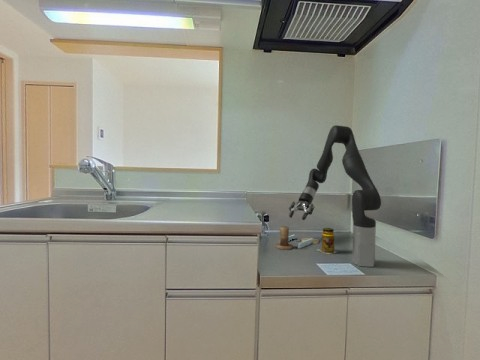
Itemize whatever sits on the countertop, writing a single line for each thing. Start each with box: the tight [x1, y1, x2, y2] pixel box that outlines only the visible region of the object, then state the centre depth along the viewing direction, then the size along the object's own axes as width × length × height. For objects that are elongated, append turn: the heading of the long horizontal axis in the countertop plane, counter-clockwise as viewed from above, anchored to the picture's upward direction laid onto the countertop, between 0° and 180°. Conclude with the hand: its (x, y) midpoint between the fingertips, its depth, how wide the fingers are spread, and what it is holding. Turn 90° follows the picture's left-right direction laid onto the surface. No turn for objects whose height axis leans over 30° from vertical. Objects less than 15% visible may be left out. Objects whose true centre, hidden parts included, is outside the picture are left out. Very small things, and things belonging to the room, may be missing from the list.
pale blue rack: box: [289, 234, 313, 249], centre depth 155 cm, size 14×13×2 cm
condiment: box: [316, 227, 338, 255], centre depth 140 cm, size 7×8×12 cm
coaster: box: [301, 237, 320, 245], centre depth 158 cm, size 10×10×1 cm
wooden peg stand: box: [275, 225, 294, 251], centre depth 147 cm, size 9×9×11 cm
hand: (296, 218), depth 154 cm, fingers open, 8 cm apart
